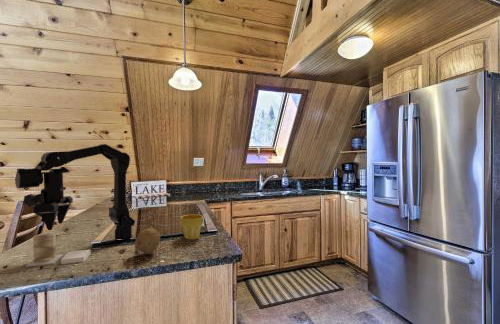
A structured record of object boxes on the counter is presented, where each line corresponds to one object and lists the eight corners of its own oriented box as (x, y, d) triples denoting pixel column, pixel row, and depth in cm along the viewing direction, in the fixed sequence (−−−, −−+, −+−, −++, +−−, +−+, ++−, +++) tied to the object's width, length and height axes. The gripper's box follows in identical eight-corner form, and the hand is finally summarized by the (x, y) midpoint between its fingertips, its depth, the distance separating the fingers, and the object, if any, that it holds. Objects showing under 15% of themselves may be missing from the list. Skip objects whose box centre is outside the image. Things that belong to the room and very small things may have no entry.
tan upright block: (57, 255, 94) (57, 232, 94) (51, 261, 89) (51, 236, 89) (38, 257, 92) (38, 233, 92) (31, 263, 88) (30, 237, 88)
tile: (90, 249, 98) (83, 257, 90) (90, 254, 98) (83, 262, 90) (69, 251, 96) (60, 259, 88) (69, 256, 96) (61, 265, 88)
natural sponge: (134, 260, 91) (134, 233, 91) (135, 252, 99) (134, 227, 99) (161, 256, 94) (160, 230, 94) (159, 248, 103) (159, 224, 103)
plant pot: (201, 233, 124) (201, 213, 124) (204, 239, 114) (204, 218, 114) (180, 235, 121) (180, 215, 121) (181, 242, 111) (181, 220, 111)
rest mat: (62, 255, 96) (62, 254, 96) (53, 263, 88) (53, 262, 88) (37, 258, 94) (37, 256, 94) (25, 266, 86) (25, 265, 86)
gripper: (39, 183, 100) (41, 222, 101) (12, 189, 83) (14, 236, 83) (72, 182, 104) (73, 219, 104) (52, 187, 86) (54, 233, 86)
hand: (55, 226), depth 94 cm, fingers open, 9 cm apart
